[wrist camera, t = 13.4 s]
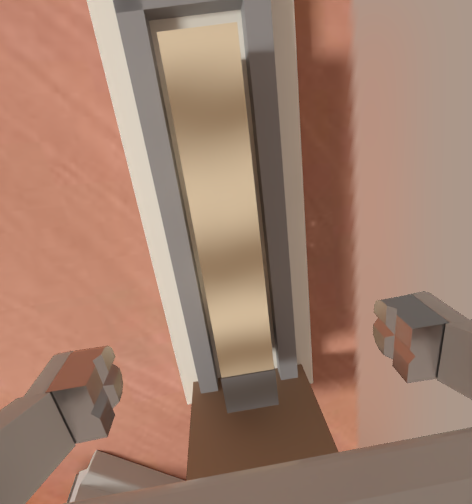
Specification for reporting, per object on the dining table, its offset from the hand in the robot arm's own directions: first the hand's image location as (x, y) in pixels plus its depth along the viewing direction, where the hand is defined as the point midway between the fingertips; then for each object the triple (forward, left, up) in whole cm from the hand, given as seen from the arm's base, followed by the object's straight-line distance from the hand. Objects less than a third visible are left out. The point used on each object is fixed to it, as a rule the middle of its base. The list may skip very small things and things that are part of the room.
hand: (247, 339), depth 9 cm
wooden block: (0, 0, -14) cm, 14 cm away
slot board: (0, 0, -15) cm, 15 cm away
